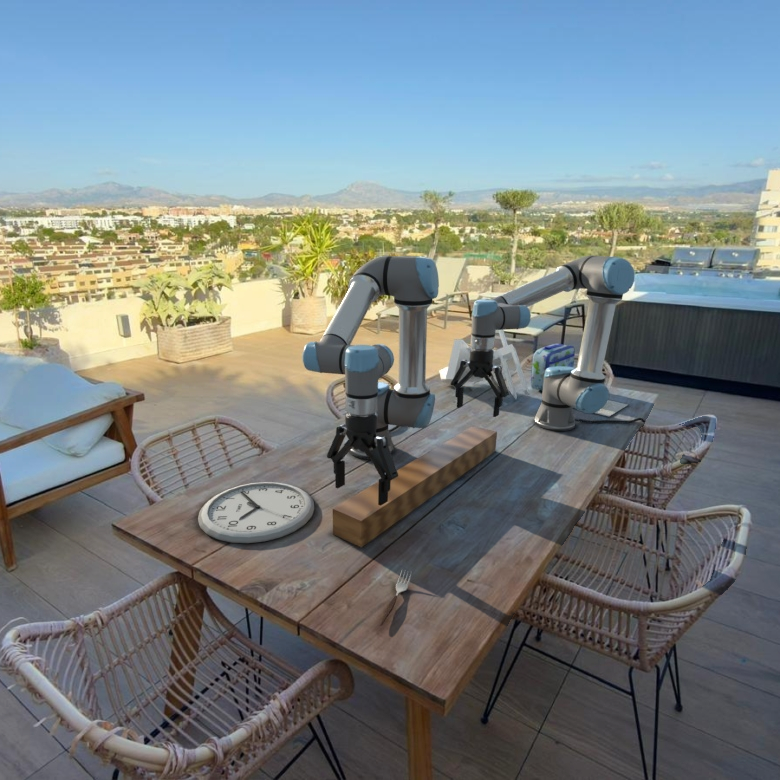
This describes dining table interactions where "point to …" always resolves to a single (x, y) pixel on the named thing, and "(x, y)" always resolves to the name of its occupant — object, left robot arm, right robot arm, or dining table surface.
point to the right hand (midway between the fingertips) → (477, 411)
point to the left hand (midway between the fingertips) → (360, 494)
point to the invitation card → (611, 408)
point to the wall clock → (256, 512)
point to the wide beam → (411, 486)
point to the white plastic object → (500, 356)
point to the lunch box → (550, 361)
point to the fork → (400, 588)
